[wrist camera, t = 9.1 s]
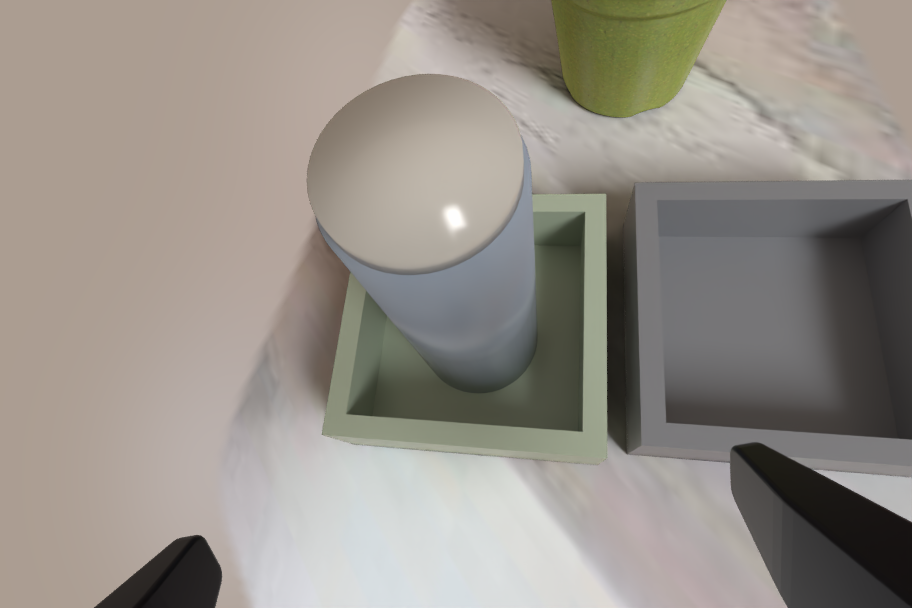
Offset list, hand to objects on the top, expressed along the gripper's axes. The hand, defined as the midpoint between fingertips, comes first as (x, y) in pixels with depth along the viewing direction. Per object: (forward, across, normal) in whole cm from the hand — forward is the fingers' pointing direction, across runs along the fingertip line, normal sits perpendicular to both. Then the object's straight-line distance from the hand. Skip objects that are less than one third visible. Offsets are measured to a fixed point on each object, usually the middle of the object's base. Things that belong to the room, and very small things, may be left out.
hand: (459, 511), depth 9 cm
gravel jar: (+14, 0, +4) cm, 14 cm away
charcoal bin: (+12, -11, +6) cm, 18 cm away
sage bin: (+14, 0, +4) cm, 15 cm away
